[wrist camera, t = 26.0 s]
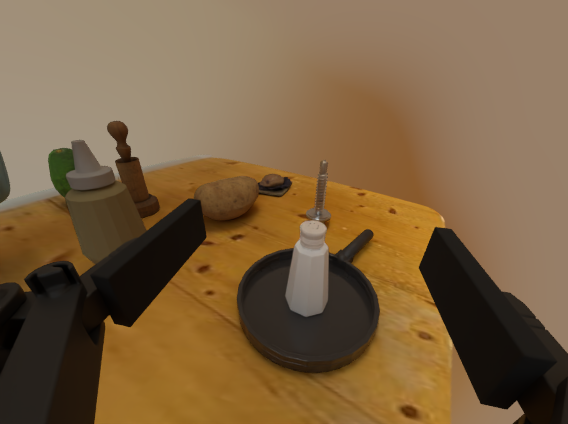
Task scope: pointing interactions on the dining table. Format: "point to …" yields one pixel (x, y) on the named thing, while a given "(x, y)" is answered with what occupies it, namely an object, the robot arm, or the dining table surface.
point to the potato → (227, 197)
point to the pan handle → (353, 248)
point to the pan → (313, 329)
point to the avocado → (61, 168)
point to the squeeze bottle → (99, 206)
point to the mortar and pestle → (132, 172)
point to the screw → (320, 197)
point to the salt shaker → (309, 271)
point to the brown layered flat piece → (274, 185)
